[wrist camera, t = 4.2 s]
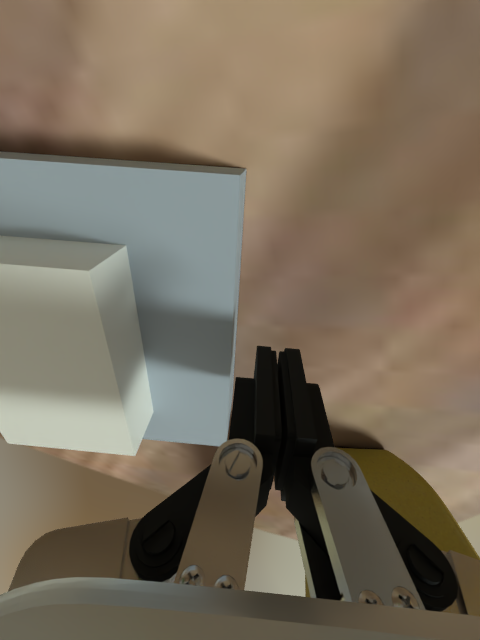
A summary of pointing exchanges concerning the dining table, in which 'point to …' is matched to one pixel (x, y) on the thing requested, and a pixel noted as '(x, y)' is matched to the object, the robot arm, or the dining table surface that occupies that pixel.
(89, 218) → the plate
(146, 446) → the dining table surface
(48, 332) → the white rectangular block
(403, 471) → the flower pot
